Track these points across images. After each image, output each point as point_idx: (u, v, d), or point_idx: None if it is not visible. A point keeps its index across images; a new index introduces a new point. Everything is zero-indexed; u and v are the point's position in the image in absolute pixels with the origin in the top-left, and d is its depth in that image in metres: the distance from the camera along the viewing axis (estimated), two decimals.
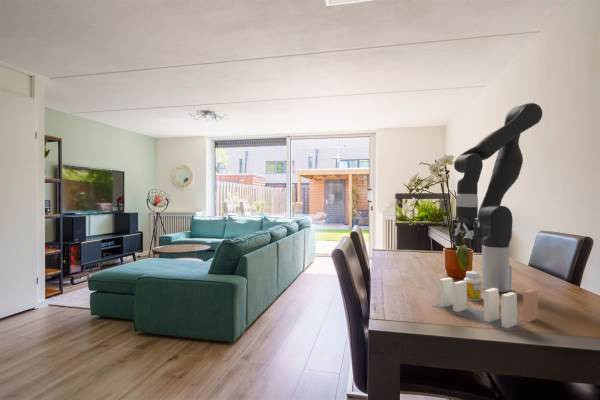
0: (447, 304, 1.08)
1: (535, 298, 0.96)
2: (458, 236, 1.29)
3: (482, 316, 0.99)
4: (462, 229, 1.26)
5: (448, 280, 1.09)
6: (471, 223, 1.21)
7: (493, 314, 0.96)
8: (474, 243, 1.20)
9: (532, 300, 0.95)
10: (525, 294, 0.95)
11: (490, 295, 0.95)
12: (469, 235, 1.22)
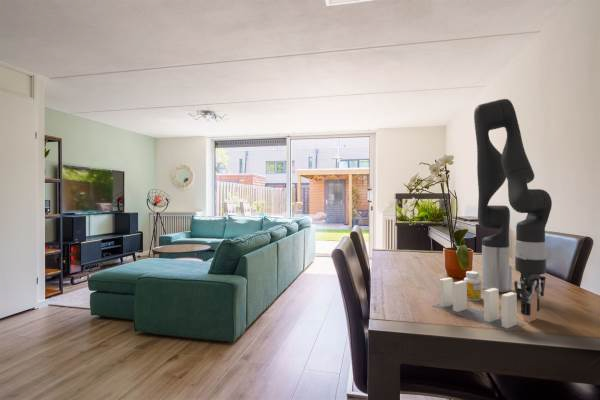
0: (447, 304, 1.08)
1: (535, 298, 0.96)
2: None
3: (482, 316, 0.99)
4: None
5: (448, 280, 1.09)
6: None
7: (493, 314, 0.96)
8: None
9: (533, 300, 0.95)
10: None
11: (490, 295, 0.95)
12: (538, 294, 0.96)
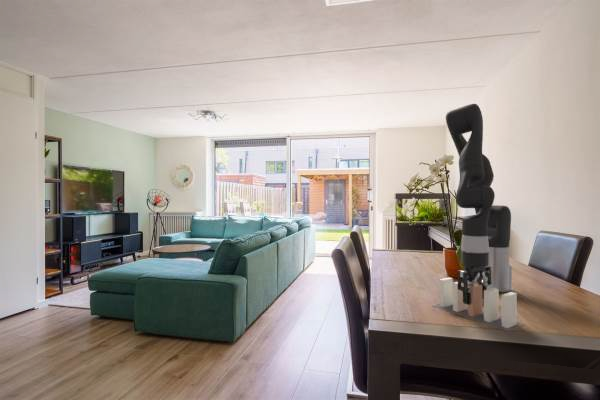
0: (447, 304, 1.08)
1: (480, 292, 1.01)
2: None
3: (482, 316, 0.99)
4: (477, 280, 0.99)
5: (448, 280, 1.09)
6: None
7: (493, 314, 0.96)
8: None
9: (477, 294, 1.00)
10: None
11: (490, 295, 0.95)
12: (485, 284, 1.01)
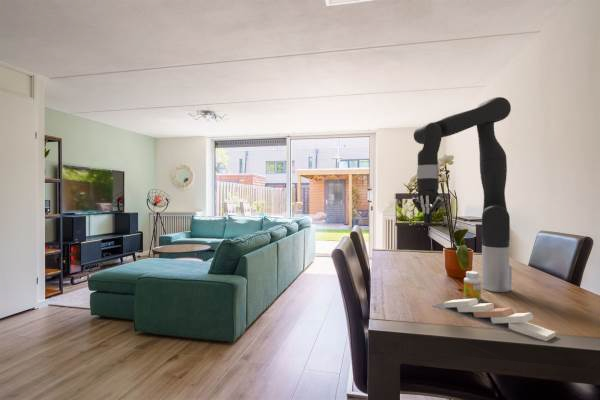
0: None
1: None
2: None
3: None
4: None
5: (473, 304, 1.01)
6: None
7: None
8: None
9: None
10: (500, 313, 0.92)
11: None
12: None
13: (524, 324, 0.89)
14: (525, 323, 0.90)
